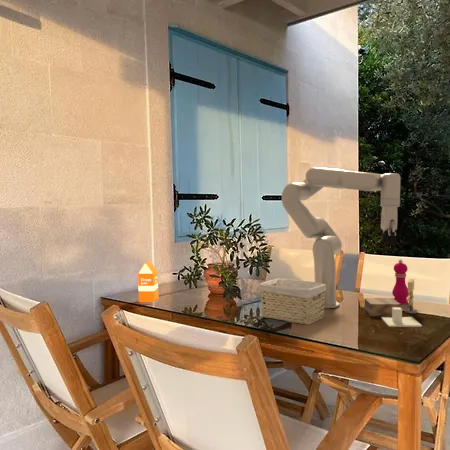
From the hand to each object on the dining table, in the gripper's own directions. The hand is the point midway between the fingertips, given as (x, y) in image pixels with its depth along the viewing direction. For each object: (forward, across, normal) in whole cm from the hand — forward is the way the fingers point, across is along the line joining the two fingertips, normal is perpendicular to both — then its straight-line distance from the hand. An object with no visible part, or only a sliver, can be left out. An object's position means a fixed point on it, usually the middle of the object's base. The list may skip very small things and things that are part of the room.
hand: (389, 243), depth 195 cm
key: (+28, +2, +9) cm, 29 cm away
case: (+29, 0, -2) cm, 29 cm away
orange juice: (+33, -18, -110) cm, 116 cm away
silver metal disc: (+29, 0, +10) cm, 31 cm away
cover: (+30, +16, +2) cm, 34 cm away
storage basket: (+31, +11, -40) cm, 51 cm away
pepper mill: (+30, -19, +10) cm, 37 cm away
